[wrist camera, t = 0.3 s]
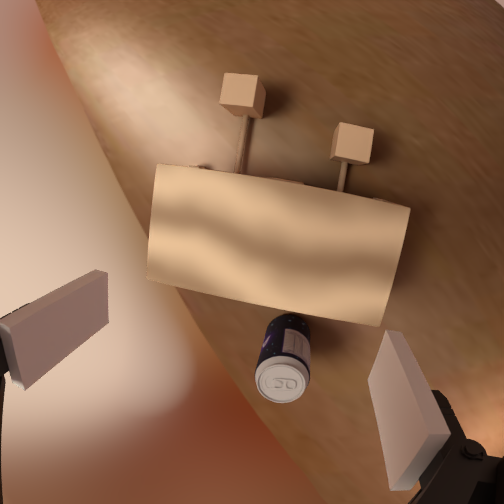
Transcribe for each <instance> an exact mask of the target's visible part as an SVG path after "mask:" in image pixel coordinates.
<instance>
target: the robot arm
mask: <svg viewBox="0 0 504 504" xmlns="http://www.w3.org/2000/svg"><path fill="white" fill-rule="evenodd" d="M108 321H109V320H108V273H106V272H103V271H99V270H94V271H92V272H89V273H88V274H85V275H84V276H82V277H80V278H78V279H76V280H74V281H72V282H70V283H68V284H66V285H64V286H62V287H60V288H58V289H56V290H54V291H52V292H50V293H48V294H46V295H45V296H43V297H41V298H39V299H37V300H35V301H33V302H31V303H28V304H26V305H24V306H22V307H20V308H19V309H16V310H14V311H13V312H12V313H9V314H7V315H5V316H3V317H2V318H0V504H3V496H2V481H1V431H2V430H1V429H2V413H3V401H4V391H5V377H4V374H5V373H6V372H8V371H9V372H10V376H11V379H12V383H14V384H15V385H17V386H18V387H20V388H22V389H23V390H26V389H27V388H29V387H30V386H31V385H32V384H33V383H35V382H36V381H37V380H38V379H40V378H41V377H42V376H43V375H44V374H46V373H47V372H48V371H49V370H51V369H52V368H53V367H54V366H55V365H56V364H58V363H59V362H60V361H62V360H63V359H64V358H65V357H66V356H68V355H69V354H70V353H71V352H72V351H74V350H75V349H76V348H78V347H79V346H80V345H81V344H83V343H84V342H85V341H86V340H88V339H89V338H90V337H91V336H93V335H94V334H95V333H96V332H98V331H99V330H100V329H101V328H103V327H104V326H105V325H106V324H108V323H109V322H108ZM368 384H369V388H370V392H371V397H372V401H373V405H374V410H375V414H376V419H377V424H378V428H379V433H380V438H381V443H382V448H383V453H384V459H385V464H386V469H387V475H388V481H389V487H390V491H395V490H411V489H412V487H413V486H414V485H415V484H416V482H417V481H418V480H419V482H420V486H421V489H420V490H419V491H418V492H417V494H416V495H415V496H414V497H413V498H412V499H411V501H410V502H409V503H408V504H504V456H503V458H499V457H493V456H487V453H486V451H485V449H484V448H483V446H482V445H481V444H479V443H478V442H476V441H474V440H471V439H467V438H466V436H465V434H464V432H463V430H462V428H461V426H460V424H459V422H458V420H457V418H456V416H455V413H454V411H453V409H451V405H450V404H449V402H448V400H447V398H446V397H445V396H444V395H443V394H442V393H441V392H440V391H439V390H431V389H430V387H429V385H428V383H427V381H426V379H425V377H424V375H423V373H422V371H421V369H420V367H419V365H418V363H417V361H416V359H415V357H414V355H413V353H412V351H411V349H410V347H409V346H408V344H407V342H406V340H405V338H404V336H403V334H402V332H397V331H390V330H386V331H385V334H384V337H383V340H382V343H381V346H380V349H379V351H378V354H377V357H376V360H375V362H374V365H373V368H372V370H371V373H370V376H369V378H368Z"/></svg>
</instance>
